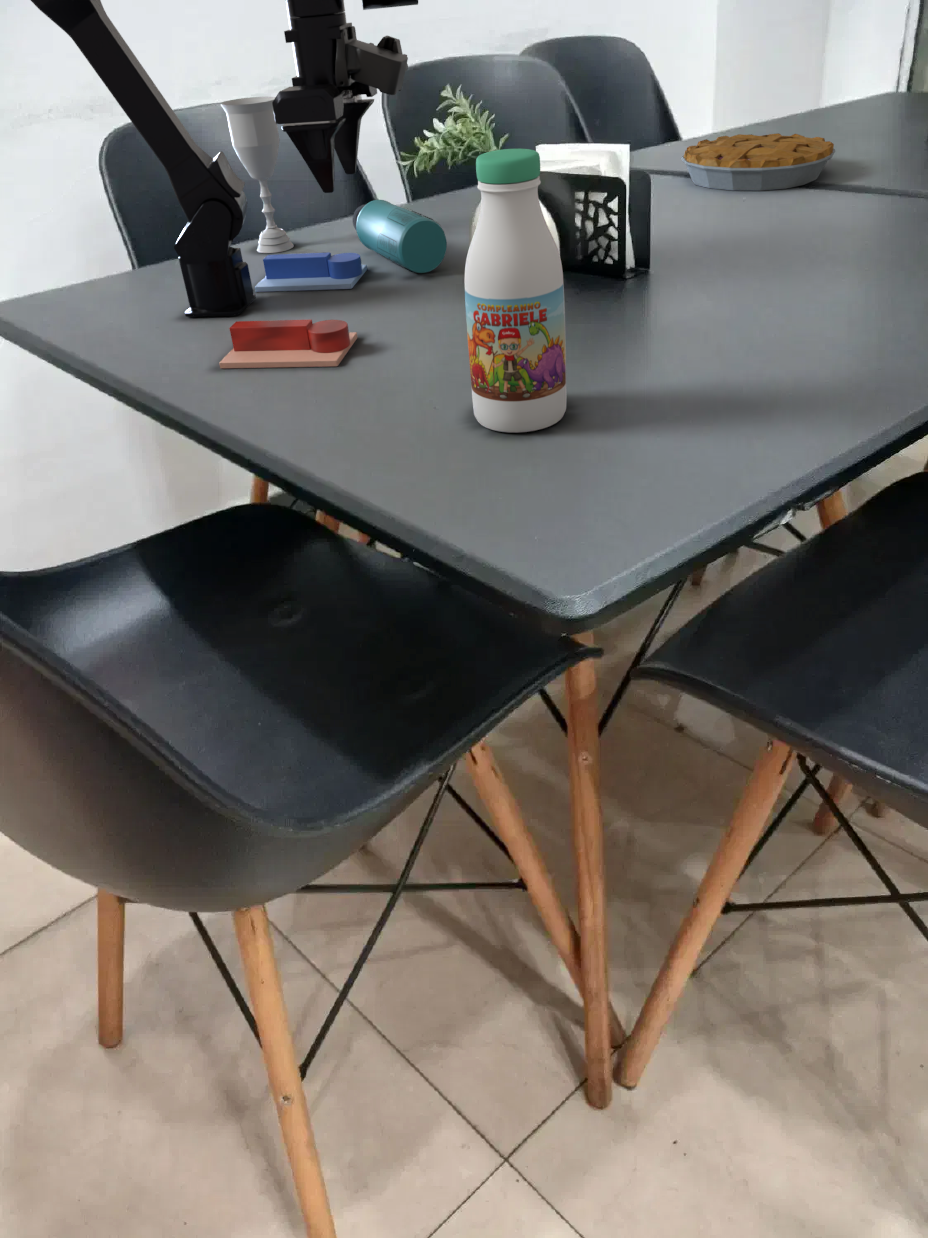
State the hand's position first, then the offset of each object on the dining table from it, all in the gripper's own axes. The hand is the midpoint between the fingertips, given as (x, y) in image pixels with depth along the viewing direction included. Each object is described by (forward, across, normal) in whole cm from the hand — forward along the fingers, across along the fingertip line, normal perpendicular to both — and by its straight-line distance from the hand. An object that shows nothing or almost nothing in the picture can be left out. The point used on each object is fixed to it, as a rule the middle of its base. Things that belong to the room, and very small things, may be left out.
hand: (340, 182), depth 106 cm
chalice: (+12, +22, +17) cm, 30 cm away
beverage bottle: (+9, +5, -8) cm, 13 cm away
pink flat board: (+12, -19, +2) cm, 23 cm away
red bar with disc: (+11, -19, +2) cm, 22 cm away
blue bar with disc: (+11, +6, +7) cm, 15 cm away
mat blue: (+12, +6, +7) cm, 15 cm away
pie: (+12, +52, -49) cm, 72 cm away
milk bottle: (+12, -35, -23) cm, 44 cm away
